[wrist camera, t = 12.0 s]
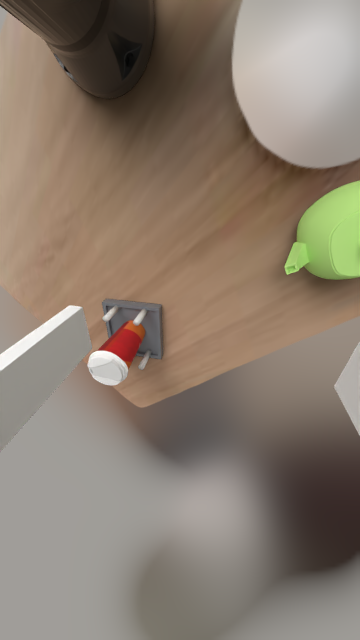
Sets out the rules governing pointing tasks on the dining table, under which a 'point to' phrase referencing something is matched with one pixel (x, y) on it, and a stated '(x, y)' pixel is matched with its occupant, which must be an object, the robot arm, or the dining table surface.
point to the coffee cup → (116, 354)
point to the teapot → (329, 236)
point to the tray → (141, 314)
